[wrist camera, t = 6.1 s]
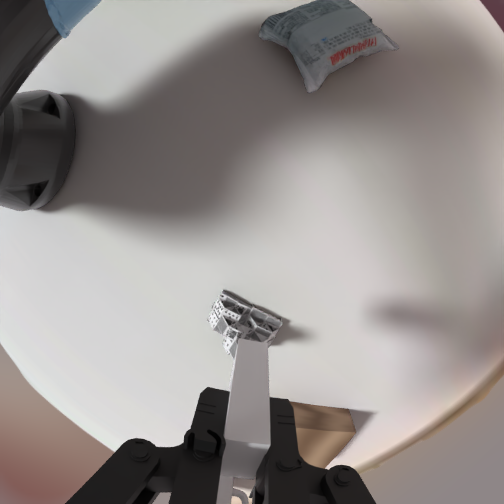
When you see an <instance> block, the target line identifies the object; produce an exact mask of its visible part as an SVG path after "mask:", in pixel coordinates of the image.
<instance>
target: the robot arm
mask: <svg viewBox="0 0 504 504" xmlns="http://www.w3.org/2000/svg"><path fill="white" fill-rule="evenodd" d="M100 2H101V0H0V206H3V207H6V208H10V209H13V210H17V211H26V210H32V209H37V208H40V207H42V206H44V205H45V204H47V203H48V202H49V201H50V200H51V199H52V198H53V197H54V196H55V194H56V193H57V192H58V190H59V189H60V187H61V185H62V183H63V181H64V179H65V177H66V175H67V172H68V170H69V167H70V163H71V160H72V156H73V151H74V144H75V121H74V116H73V112H72V109H71V107H70V105H69V103H68V102H67V101H66V100H65V98H63V97H62V96H60V95H58V94H56V93H53V92H50V91H47V90H35V91H29V92H22V93H16V92H17V91H18V90H19V88H20V87H21V86H22V84H23V83H24V82H25V80H26V79H27V78H28V76H29V75H30V74H31V72H32V71H33V70H34V69H35V68H36V66H37V65H38V64H39V63H40V62H41V60H42V59H43V58H44V57H45V56H46V55H47V54H48V52H49V51H50V50H51V49H52V48H53V47H54V46H55V45H56V44H57V43H58V42H59V41H60V40H61V39H62V38H66V37H67V36H68V35H69V34H70V32H71V30H72V29H73V28H74V27H75V26H76V25H77V24H78V23H79V22H80V21H81V20H82V19H83V18H84V17H85V16H86V15H87V14H88V13H89V12H90V11H91V10H92V9H94V8H95V7H96V6H97V5H98V4H99V3H100ZM294 417H295V416H294V408H293V406H292V405H291V403H290V402H289V400H288V399H280V398H272V397H269V365H268V343H263V342H257V341H251V340H246V339H241V338H239V340H238V345H237V349H236V354H235V359H234V363H233V368H232V372H231V377H230V383H229V390H228V391H225V390H220V389H215V388H210V387H207V388H206V389H205V390H204V391H203V392H202V393H200V397H199V400H198V404H197V407H196V411H195V415H194V418H193V422H192V425H191V429H189V430H188V431H187V432H186V434H185V435H184V443H182V444H181V445H179V446H175V447H156V446H155V445H154V444H153V443H151V442H150V441H147V440H145V439H138V438H134V439H130V440H128V441H126V442H125V443H123V444H122V445H121V446H120V448H119V449H118V450H117V451H116V452H115V453H114V454H113V455H112V456H111V457H110V458H109V459H108V460H107V461H106V463H105V464H104V465H103V466H102V467H101V468H100V469H99V470H98V471H97V472H96V473H95V474H94V475H93V476H92V477H91V478H90V479H89V480H88V481H87V482H86V483H85V484H84V485H83V486H82V488H80V489H79V490H78V491H77V492H76V493H75V494H74V495H73V496H72V497H71V498H70V499H69V500H68V501H67V502H66V503H65V504H152V503H153V502H154V500H155V499H156V497H157V496H158V495H159V493H160V492H172V493H171V496H170V500H169V504H216V502H217V495H218V487H219V480H220V475H223V476H229V477H237V478H245V479H254V478H255V476H256V484H255V486H254V488H253V490H252V491H251V493H250V496H249V498H252V504H376V503H375V501H374V499H373V498H372V496H371V494H370V493H369V491H368V489H367V487H366V486H365V484H364V482H363V481H362V479H361V477H360V475H359V474H358V473H357V471H356V470H355V469H353V468H351V467H350V466H346V465H336V466H334V467H332V468H330V469H329V470H327V469H323V468H319V467H315V466H313V465H310V464H308V463H307V462H305V461H304V459H303V458H302V457H301V456H300V454H299V450H298V441H297V433H296V425H295V418H294Z"/></svg>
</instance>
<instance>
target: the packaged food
mask: <svg viewBox="0 0 504 504" xmlns="http://www.w3.org/2000/svg"><path fill="white" fill-rule="evenodd" d="M258 36H259V37H260V38H261V39H262V40H270V41H273V42H275V43H277V44H279V45H281V46H283V47H285V48H286V49H288V50H289V51H290V52H291V54H292V55H293V57H294V59H295V62H296V64H297V66H298V68H299V70H300V73H301V75H302V77H303V79H304V85H305V86H306V90H307V92H308V93H311V92H314V91H316V90H318V89H319V87H320V86H321V84H322V83H323V82H324V81H325V79H326V77H327V75H328V74H330V73H332V72H334V71H336V70H338V69H340V68H342V67H344V66H346V65H348V64H349V63H351V62H353V61H354V60H355V59H356V58H357V57H363V56H368V55H371V54H374V53H377V52H380V51H385V50H386V51H387V50H398V49H399V46H398V45H397V44H396V43H395V42H393V41H392V40H391V39H390V38H389V37H388V36H386V35H385V34H384V33H383V32H382V30H381V29H380V28H378V27H377V26H375V25H374V24H373V23H372V19H371V18H370V17H369V16H368V15H367V14H366V13H365V12H364V11H362V10H361V9H360V8H359V7H357V6H356V5H355V4H353V3H352V2H351V1H349V0H316V1H314V2H311V3H309V4H305V5H302V6H299V7H296V8H294V9H292V10H289V11H287V12H283V13H279V14H276V15H272V16H270V17H268V18H267V19H266V20H265V22H264V23H263V24H262V26H261V31H259V35H258Z"/></svg>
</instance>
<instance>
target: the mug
mask: <svg viewBox="0 0 504 504" xmlns="http://www.w3.org/2000/svg"><path fill="white" fill-rule="evenodd" d="M233 481H234V477H229V476H223V475H220V480H219V487H218V495H217V502H216V504H231V498H232V496H237V497H239V498H240V499H241V501H242V504H249V502H248V497H247V495H246V494H245V493H244V492H243V491H241V490H238V489H235V488H233Z"/></svg>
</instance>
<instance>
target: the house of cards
mask: <svg viewBox="0 0 504 504" xmlns="http://www.w3.org/2000/svg"><path fill="white" fill-rule="evenodd" d="M206 321H207V322H210V324H211V326H212V328H213V331H216V332H218V333H220V334H222V336H224V337H226V338H225V340H224V341H223V343H222V344H223V346H224V348H225V350H226V352H227V354H228V355H229V354H230V355H231V357H232V359H233V361H234V359H235V354H236V349H237V345H238V340H239V338H241V339H246V340H251V341H257V342H263V343H268V348H269V346H270V345H271V343H272V342H273V340H274V339H275V338H276V337H275V335H276V333H277V332H278V330H279V329H280V327H281V325H282V324H283V323H282V318H281V319H278V318H276V317H274V316H272V315H270V314H268V313H266V312H264V311H262V310H260V309H258V308H256V307H254V305H253V306H250V305H248V304H246V303H245V302H243V301H241V300H239V299H237V298H236V297H234V296H232V295H230V294H228V293H226V292H224V291H222V293H221V292H220V294H219V296H218V298H217V300H216V302H214V304H213V306H212V310H211V312H210V314H209V317H208V318H207V320H206Z"/></svg>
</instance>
